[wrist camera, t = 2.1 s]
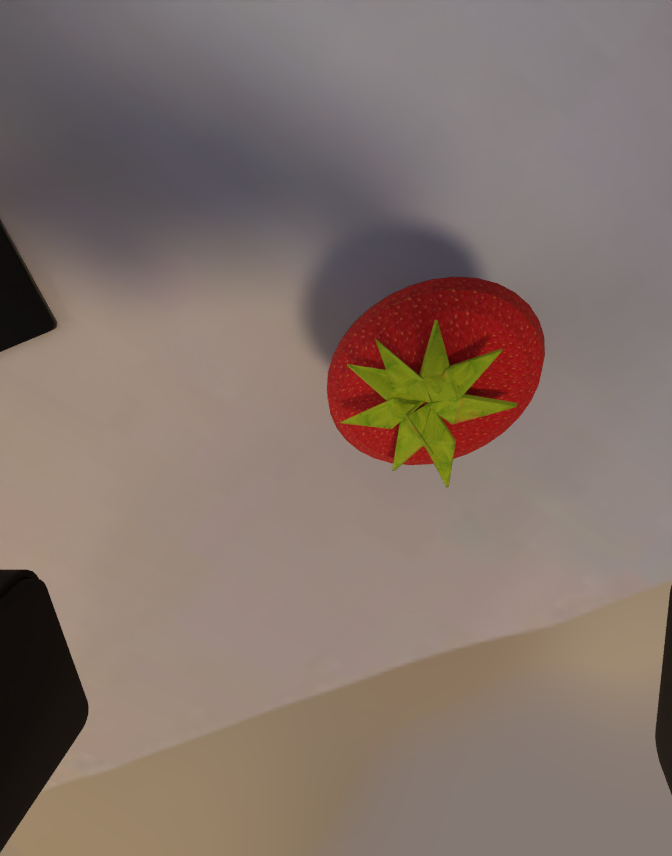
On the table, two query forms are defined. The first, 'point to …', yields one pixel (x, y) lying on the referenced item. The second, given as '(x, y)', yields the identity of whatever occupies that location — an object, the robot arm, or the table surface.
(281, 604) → the table surface
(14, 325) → the build plate
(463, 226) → the table surface
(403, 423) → the strawberry
